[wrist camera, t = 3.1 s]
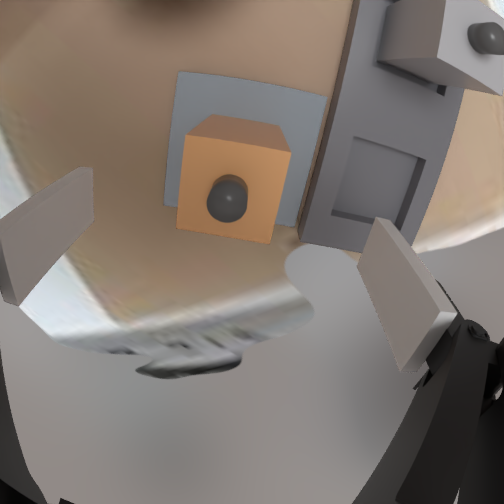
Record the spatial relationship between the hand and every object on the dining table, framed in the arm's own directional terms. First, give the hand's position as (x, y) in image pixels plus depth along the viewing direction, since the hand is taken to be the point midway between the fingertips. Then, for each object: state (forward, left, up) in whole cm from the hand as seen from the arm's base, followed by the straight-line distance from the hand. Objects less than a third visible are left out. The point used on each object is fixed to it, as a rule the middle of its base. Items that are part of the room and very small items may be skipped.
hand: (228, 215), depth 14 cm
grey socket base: (+11, +6, -12) cm, 17 cm away
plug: (0, 0, -11) cm, 11 cm away
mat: (0, 0, -12) cm, 12 cm away
